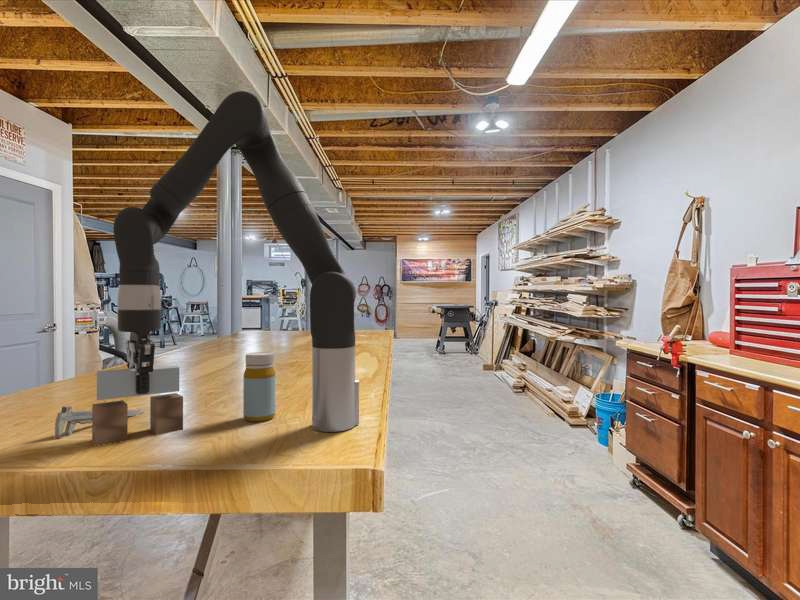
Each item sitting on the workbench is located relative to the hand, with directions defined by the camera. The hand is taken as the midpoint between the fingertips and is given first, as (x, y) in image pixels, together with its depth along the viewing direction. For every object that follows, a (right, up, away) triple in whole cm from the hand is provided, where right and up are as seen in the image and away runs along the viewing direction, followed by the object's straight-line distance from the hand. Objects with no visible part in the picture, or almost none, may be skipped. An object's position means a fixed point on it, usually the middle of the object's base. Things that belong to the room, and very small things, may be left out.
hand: (139, 391), depth 85 cm
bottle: (+20, -9, +12) cm, 25 cm away
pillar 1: (-4, -9, -3) cm, 10 cm away
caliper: (-12, -9, +7) cm, 17 cm away
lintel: (0, 0, 0) cm, 0 cm away
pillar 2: (+4, -9, +3) cm, 10 cm away
